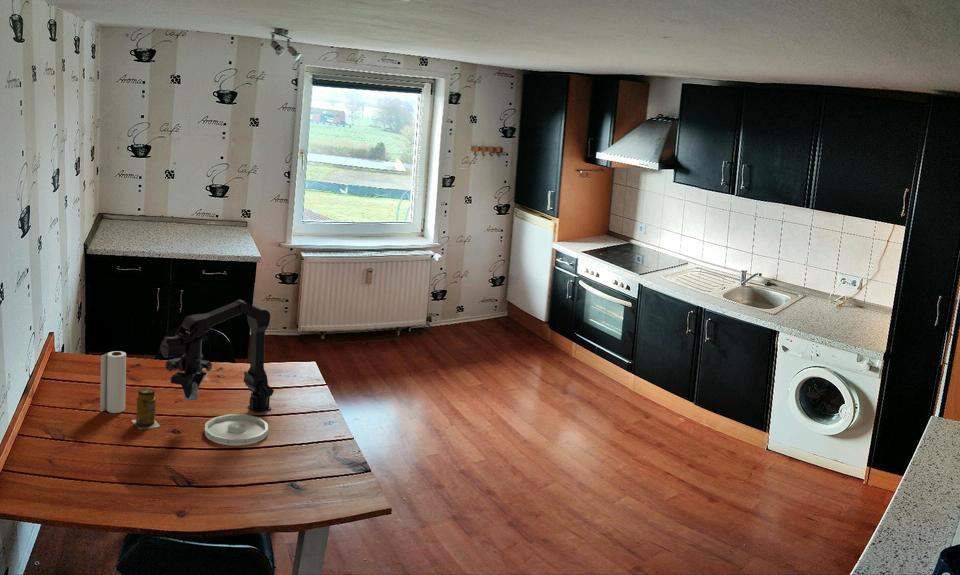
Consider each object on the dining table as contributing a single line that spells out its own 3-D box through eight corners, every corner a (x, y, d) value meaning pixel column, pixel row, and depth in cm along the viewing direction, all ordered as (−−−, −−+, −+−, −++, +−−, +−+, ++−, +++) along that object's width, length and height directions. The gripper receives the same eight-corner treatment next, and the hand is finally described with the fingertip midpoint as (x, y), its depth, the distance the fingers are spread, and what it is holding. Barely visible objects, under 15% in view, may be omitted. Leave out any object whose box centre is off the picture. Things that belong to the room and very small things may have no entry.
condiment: (152, 417, 294) (153, 385, 291) (160, 426, 287) (161, 394, 284) (131, 420, 289) (131, 388, 286) (138, 430, 283) (139, 397, 280)
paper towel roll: (127, 407, 299) (128, 351, 294) (121, 414, 293) (122, 357, 288) (107, 405, 298) (108, 349, 293) (100, 412, 293) (100, 354, 287)
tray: (246, 415, 304) (247, 410, 304) (279, 436, 291) (279, 430, 290) (193, 428, 289) (193, 422, 288) (224, 450, 275) (225, 444, 275)
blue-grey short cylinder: (193, 394, 292) (193, 381, 291) (199, 399, 289) (200, 385, 288) (181, 397, 289) (182, 383, 288) (187, 401, 286) (188, 387, 285)
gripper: (183, 341, 295) (182, 382, 299) (156, 357, 277) (155, 400, 281) (213, 346, 294) (211, 387, 298) (187, 362, 276) (186, 406, 280)
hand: (190, 395), depth 289 cm, fingers closed on blue-grey short cylinder, 4 cm apart
